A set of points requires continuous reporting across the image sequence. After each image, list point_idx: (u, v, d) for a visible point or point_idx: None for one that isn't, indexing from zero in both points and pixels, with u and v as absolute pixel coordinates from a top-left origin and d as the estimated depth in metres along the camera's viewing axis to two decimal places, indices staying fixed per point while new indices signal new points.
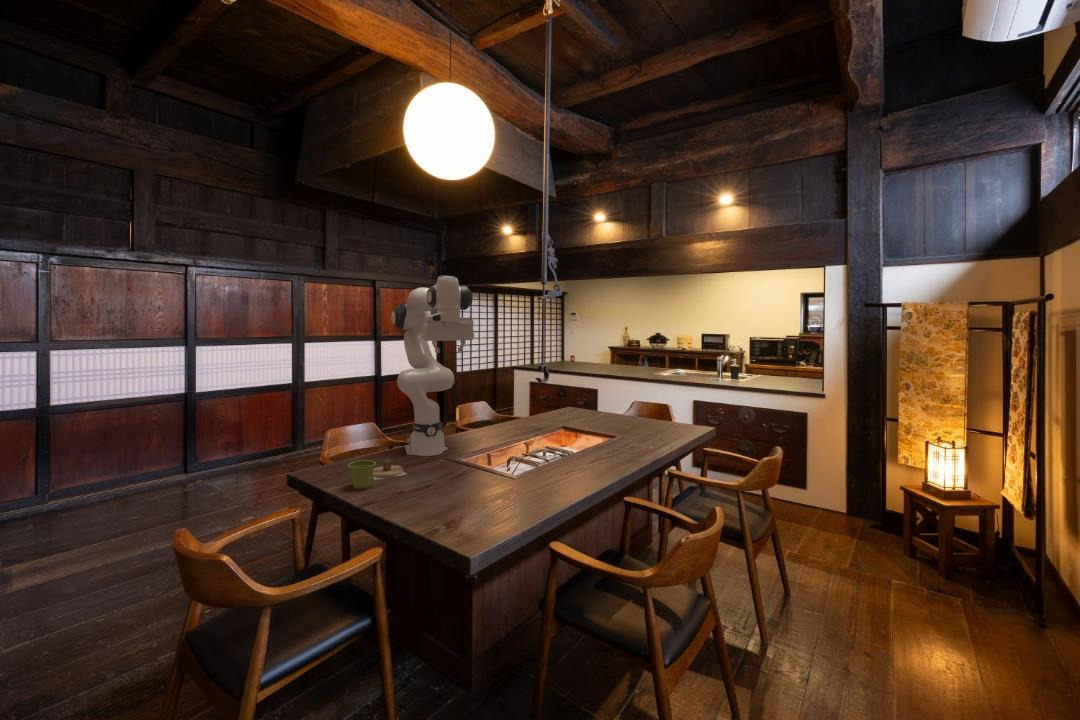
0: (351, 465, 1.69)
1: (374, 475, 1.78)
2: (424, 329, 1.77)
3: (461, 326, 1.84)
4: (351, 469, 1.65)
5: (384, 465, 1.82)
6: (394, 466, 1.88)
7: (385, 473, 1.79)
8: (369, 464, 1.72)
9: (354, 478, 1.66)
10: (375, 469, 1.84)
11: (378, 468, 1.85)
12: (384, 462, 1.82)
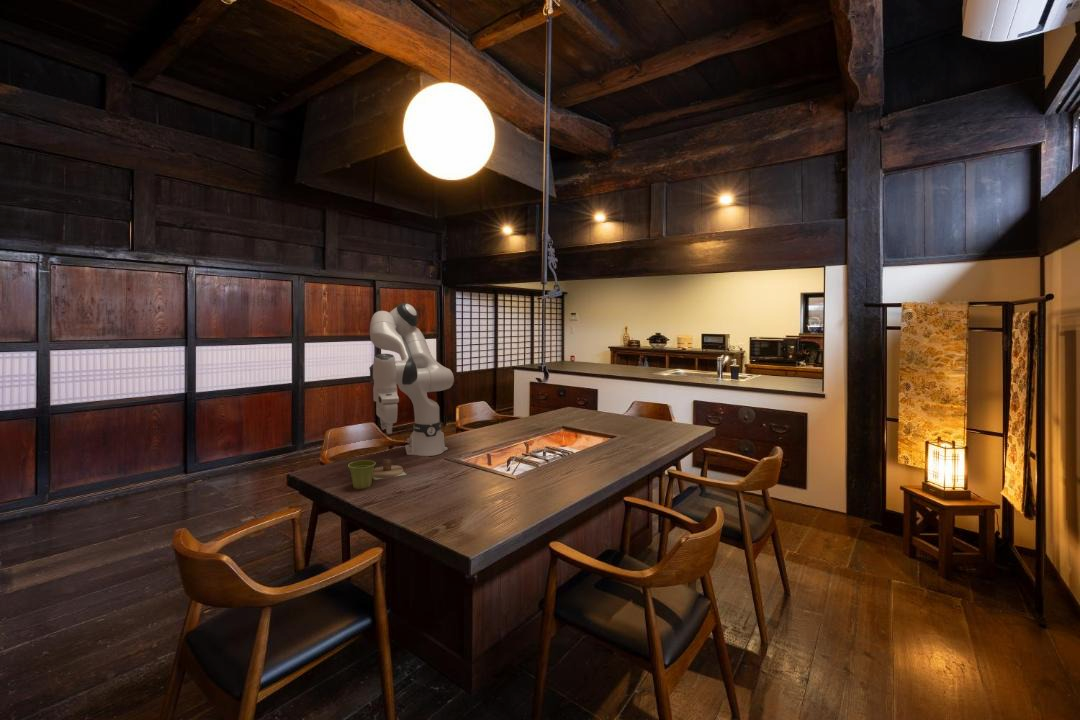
0: (351, 465, 1.69)
1: (374, 475, 1.78)
2: (393, 411, 1.73)
3: None
4: (351, 469, 1.65)
5: (384, 465, 1.82)
6: (394, 466, 1.88)
7: (385, 473, 1.79)
8: (369, 464, 1.72)
9: (354, 478, 1.66)
10: (375, 469, 1.84)
11: (378, 468, 1.85)
12: (384, 462, 1.82)
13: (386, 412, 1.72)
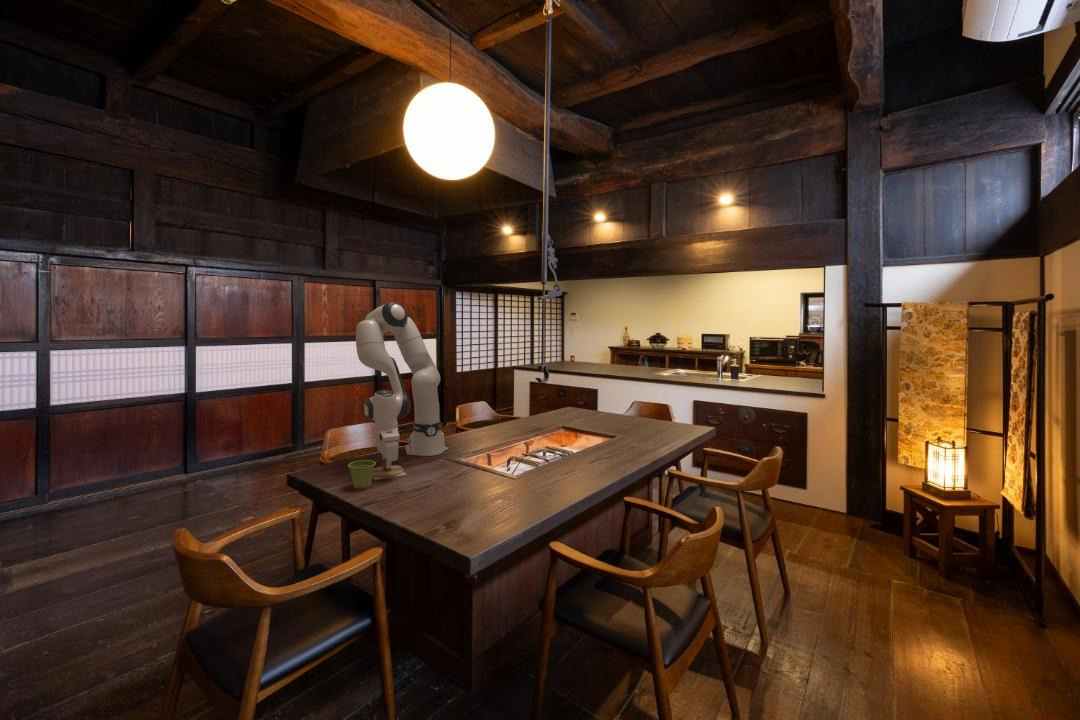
0: (351, 465, 1.69)
1: (374, 475, 1.78)
2: (394, 449, 1.74)
3: None
4: (351, 469, 1.65)
5: (384, 465, 1.82)
6: (394, 466, 1.88)
7: (385, 473, 1.79)
8: (369, 464, 1.72)
9: (354, 478, 1.66)
10: (375, 469, 1.84)
11: (378, 468, 1.85)
12: (384, 462, 1.82)
13: (387, 450, 1.73)
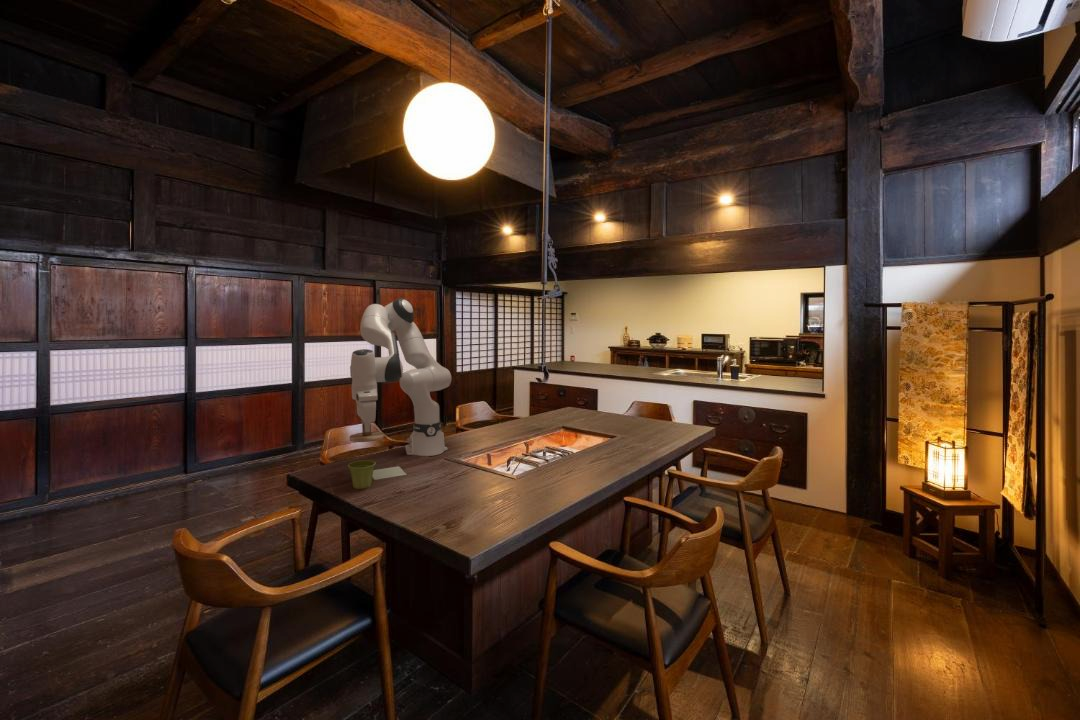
0: (351, 465, 1.69)
1: (352, 440, 1.68)
2: (371, 409, 1.64)
3: None
4: (351, 469, 1.65)
5: (363, 430, 1.71)
6: (375, 432, 1.77)
7: (364, 437, 1.69)
8: (369, 464, 1.72)
9: (354, 478, 1.66)
10: (354, 435, 1.73)
11: (358, 434, 1.74)
12: (363, 426, 1.71)
13: (363, 410, 1.63)
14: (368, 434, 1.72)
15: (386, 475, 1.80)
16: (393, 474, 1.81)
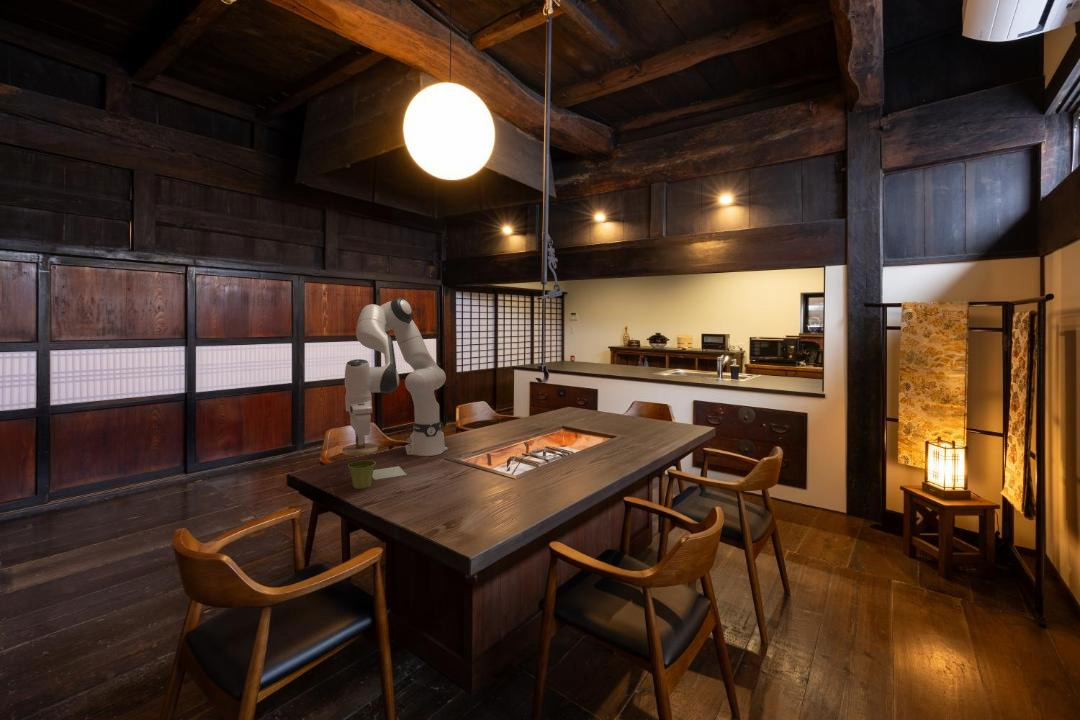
0: (351, 465, 1.69)
1: (345, 453, 1.63)
2: (365, 422, 1.59)
3: None
4: (351, 469, 1.65)
5: (357, 442, 1.67)
6: (368, 444, 1.73)
7: (358, 450, 1.64)
8: (369, 464, 1.72)
9: (354, 478, 1.66)
10: (347, 447, 1.69)
11: (351, 446, 1.70)
12: (357, 439, 1.67)
13: (358, 424, 1.58)
14: (362, 447, 1.67)
15: (386, 475, 1.80)
16: (393, 474, 1.81)
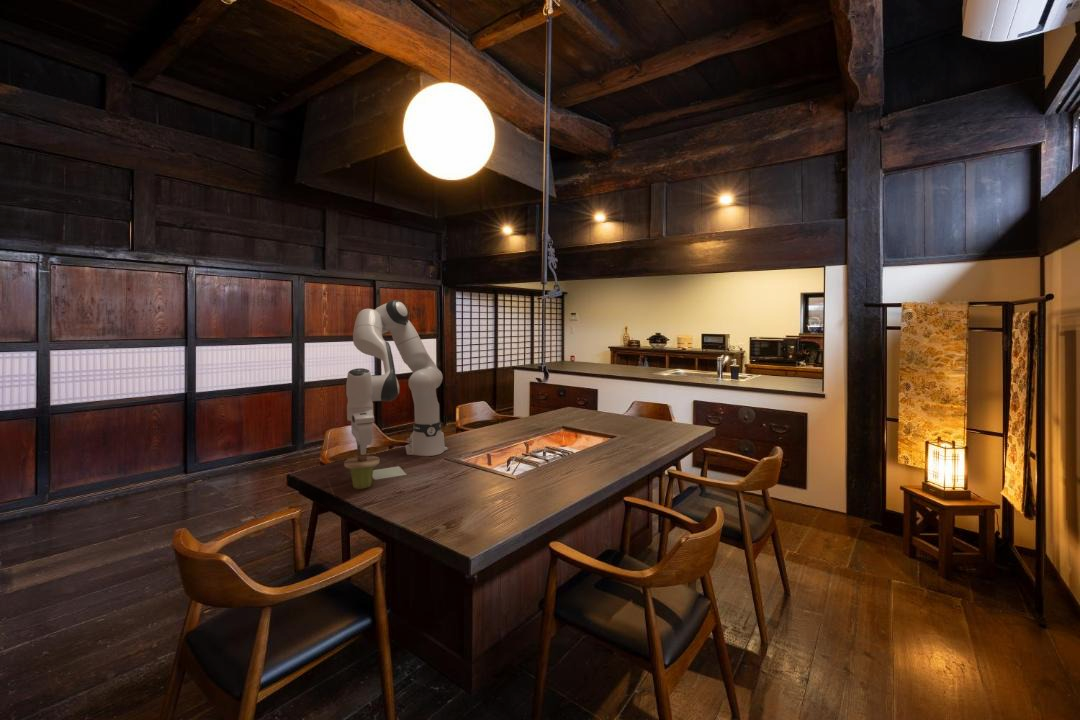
0: None
1: (347, 466, 1.64)
2: (368, 432, 1.59)
3: None
4: (351, 469, 1.65)
5: (358, 455, 1.67)
6: (370, 456, 1.73)
7: (360, 463, 1.65)
8: None
9: (354, 478, 1.65)
10: (349, 460, 1.69)
11: (352, 459, 1.70)
12: (358, 452, 1.67)
13: (360, 433, 1.58)
14: (363, 460, 1.67)
15: (386, 475, 1.80)
16: (393, 474, 1.81)
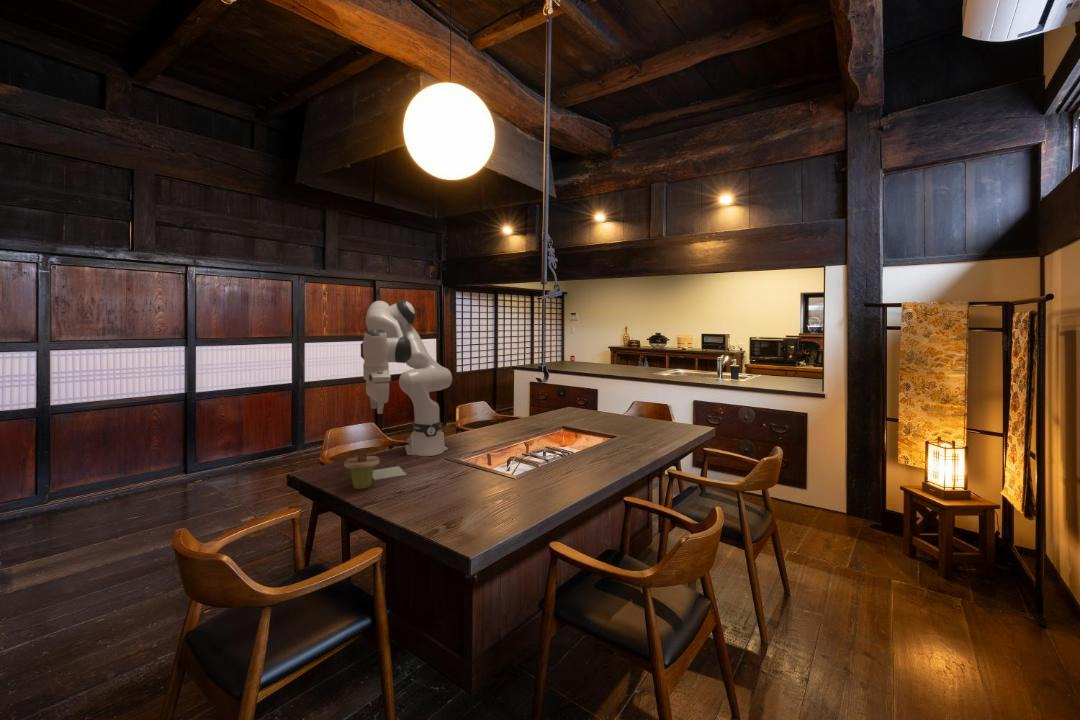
0: None
1: (347, 466, 1.64)
2: (384, 390, 1.64)
3: None
4: (351, 469, 1.65)
5: (358, 455, 1.67)
6: (370, 456, 1.73)
7: (360, 463, 1.65)
8: None
9: (354, 478, 1.66)
10: (349, 460, 1.69)
11: (352, 459, 1.70)
12: (358, 452, 1.67)
13: (377, 391, 1.63)
14: (363, 460, 1.67)
15: (386, 475, 1.80)
16: (393, 474, 1.81)
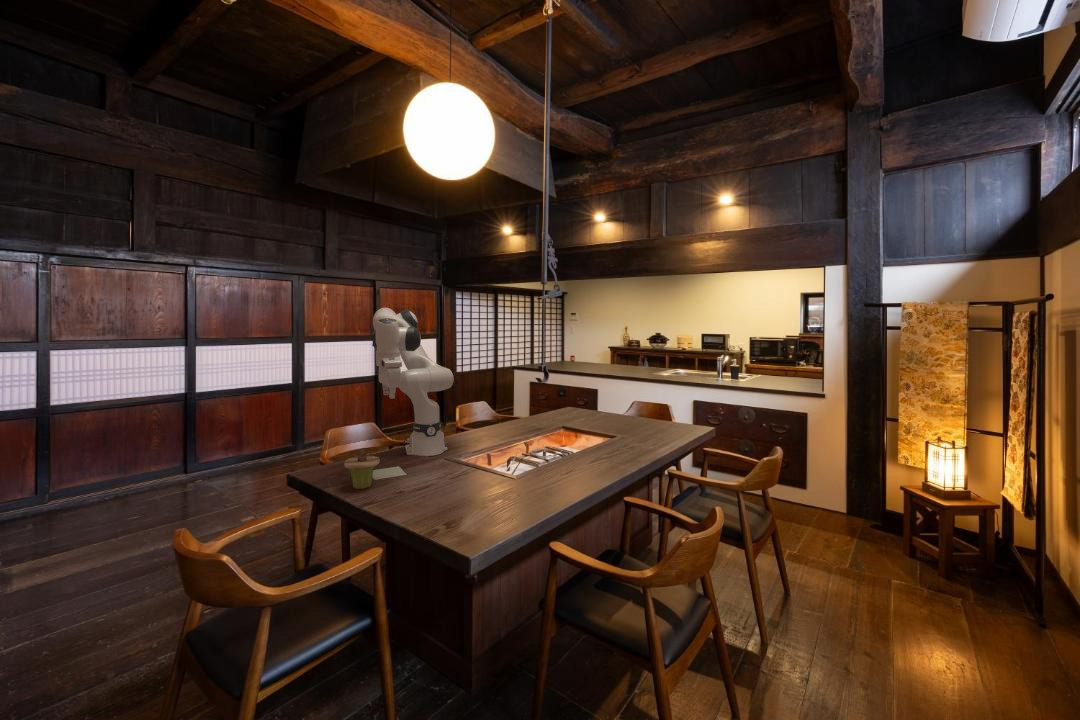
0: None
1: (347, 466, 1.64)
2: (396, 375, 1.71)
3: None
4: (351, 469, 1.65)
5: (358, 455, 1.67)
6: (370, 456, 1.73)
7: (360, 463, 1.65)
8: None
9: (354, 478, 1.66)
10: (349, 460, 1.69)
11: (352, 459, 1.70)
12: (358, 452, 1.67)
13: (389, 376, 1.70)
14: (363, 460, 1.67)
15: (386, 475, 1.80)
16: (393, 474, 1.81)
